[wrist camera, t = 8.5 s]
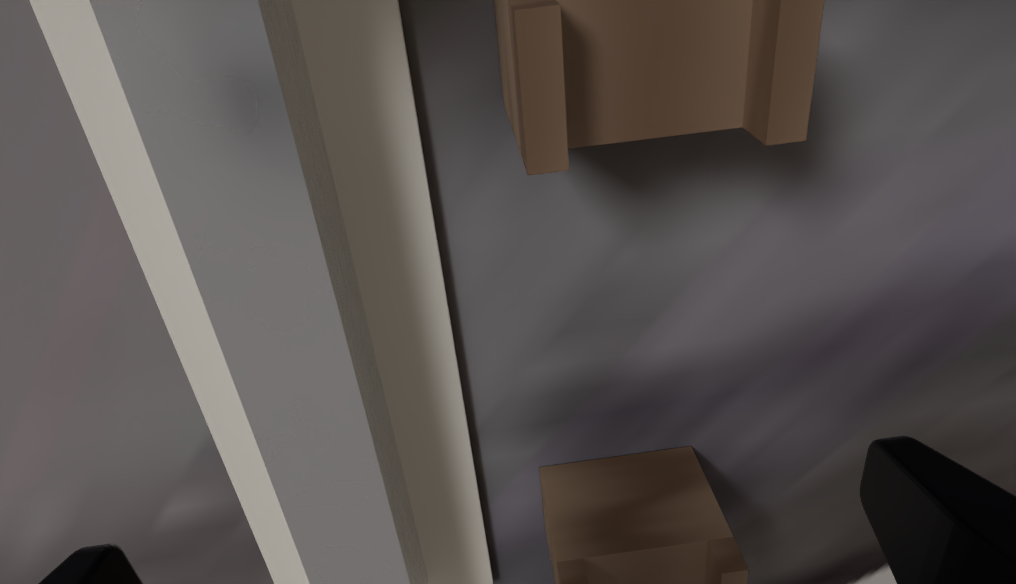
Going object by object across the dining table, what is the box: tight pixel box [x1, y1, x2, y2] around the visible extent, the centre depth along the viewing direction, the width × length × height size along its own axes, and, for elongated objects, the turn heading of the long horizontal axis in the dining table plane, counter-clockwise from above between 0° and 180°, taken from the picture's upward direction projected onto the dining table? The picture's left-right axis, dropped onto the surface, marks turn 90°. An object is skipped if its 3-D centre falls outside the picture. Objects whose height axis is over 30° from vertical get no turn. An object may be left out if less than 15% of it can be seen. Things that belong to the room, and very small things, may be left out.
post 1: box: [494, 0, 825, 175], centre depth 15 cm, size 6×3×5 cm, turn 95°
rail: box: [89, 0, 428, 584], centre depth 19 cm, size 3×22×3 cm, turn 5°
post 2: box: [539, 446, 749, 584], centre depth 23 cm, size 6×3×5 cm, turn 95°
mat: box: [29, 0, 493, 584], centre depth 21 cm, size 8×24×1 cm, turn 5°
